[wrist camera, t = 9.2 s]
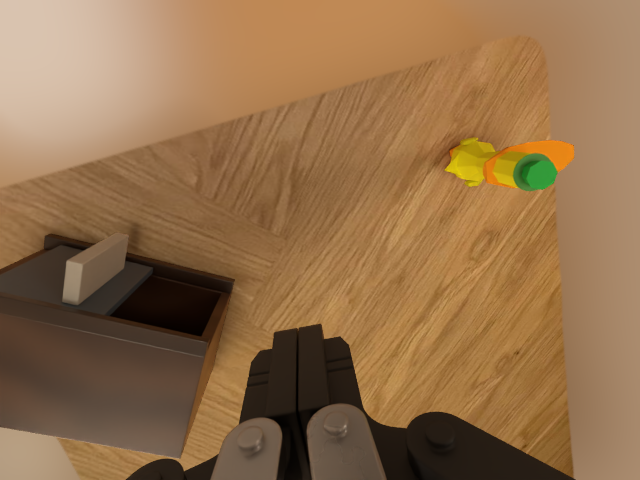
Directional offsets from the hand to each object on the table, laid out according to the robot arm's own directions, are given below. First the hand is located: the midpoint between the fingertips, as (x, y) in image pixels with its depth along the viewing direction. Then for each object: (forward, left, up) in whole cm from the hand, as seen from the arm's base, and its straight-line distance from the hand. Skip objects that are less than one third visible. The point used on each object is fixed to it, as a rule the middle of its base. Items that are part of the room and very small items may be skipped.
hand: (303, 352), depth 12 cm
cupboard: (+14, -12, -21) cm, 28 cm away
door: (+7, -15, -20) cm, 26 cm away
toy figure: (-8, +12, -21) cm, 26 cm away
